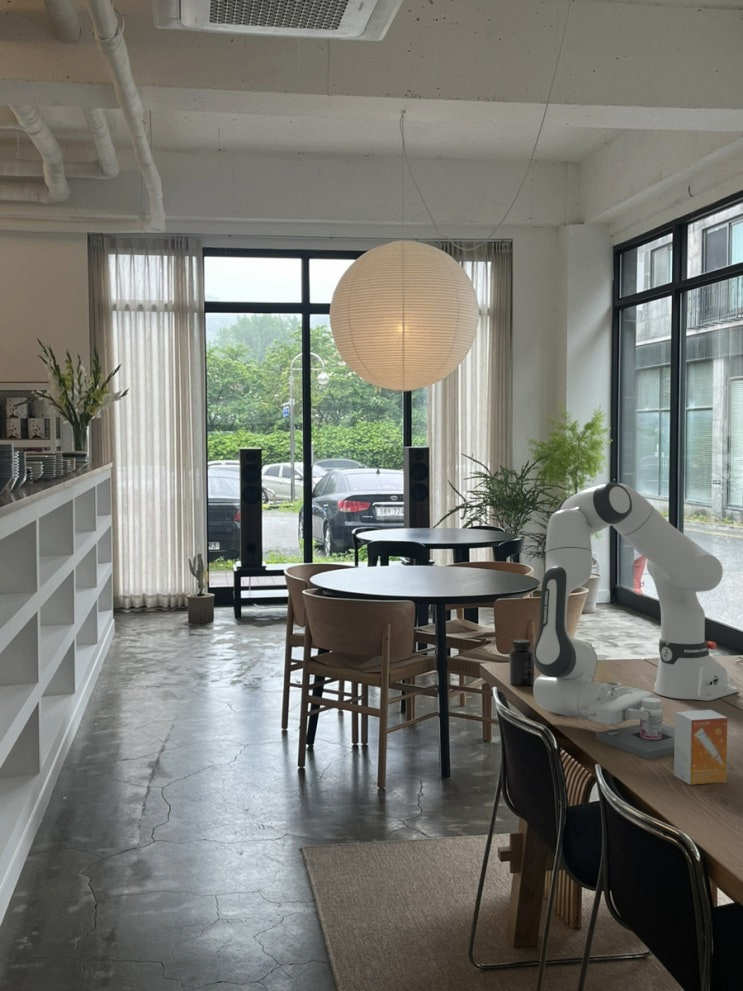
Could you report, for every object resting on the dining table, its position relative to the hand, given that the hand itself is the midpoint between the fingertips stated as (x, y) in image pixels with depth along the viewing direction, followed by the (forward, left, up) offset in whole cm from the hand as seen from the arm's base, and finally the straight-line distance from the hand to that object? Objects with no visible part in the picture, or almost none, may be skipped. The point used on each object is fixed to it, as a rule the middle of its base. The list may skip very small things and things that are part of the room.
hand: (655, 713), depth 218 cm
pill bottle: (0, -1, -6) cm, 6 cm away
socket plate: (0, -1, -7) cm, 7 cm away
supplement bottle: (-9, -59, -7) cm, 60 cm away
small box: (+9, +21, -7) cm, 24 cm away
